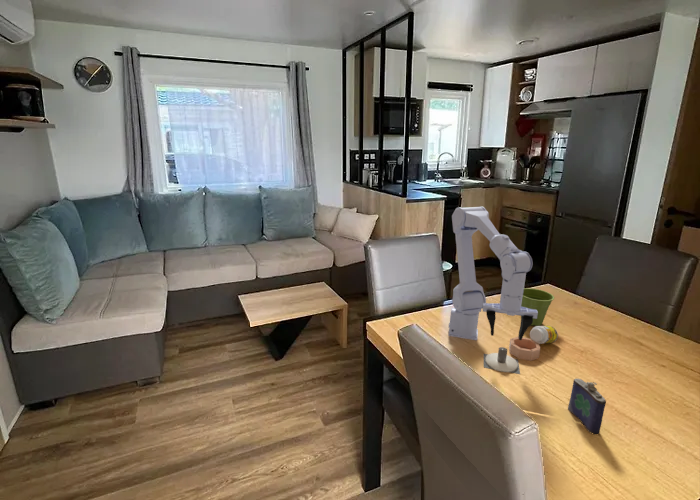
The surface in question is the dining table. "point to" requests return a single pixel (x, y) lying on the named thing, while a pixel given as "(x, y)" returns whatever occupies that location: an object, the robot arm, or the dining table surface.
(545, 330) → the supplement bottle
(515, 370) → the mat
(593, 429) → the flask
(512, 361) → the lid
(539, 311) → the plant pot
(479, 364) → the dining table surface
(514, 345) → the bowl
